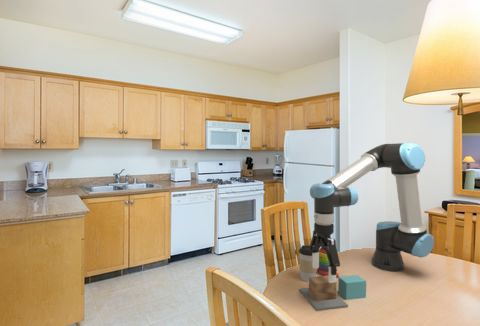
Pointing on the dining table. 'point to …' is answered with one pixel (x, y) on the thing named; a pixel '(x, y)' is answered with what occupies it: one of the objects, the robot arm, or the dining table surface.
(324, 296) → the walnut brick
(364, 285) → the teal brick
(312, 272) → the coffee cup
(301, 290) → the mat
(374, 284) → the dining table surface
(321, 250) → the stacking bear
